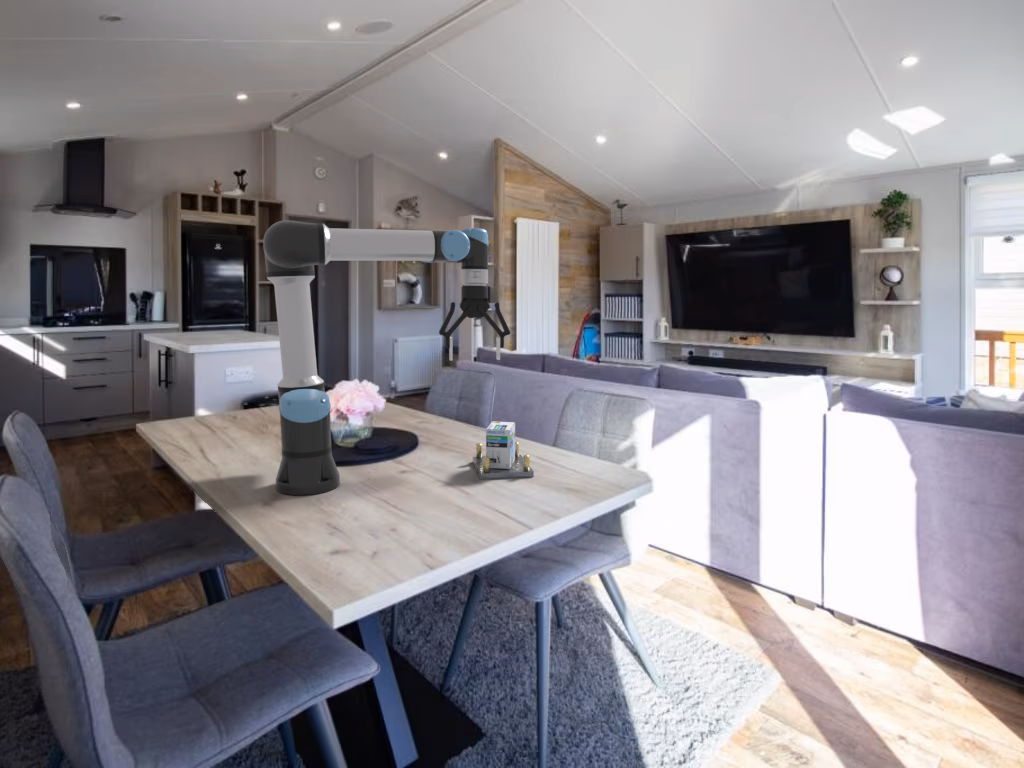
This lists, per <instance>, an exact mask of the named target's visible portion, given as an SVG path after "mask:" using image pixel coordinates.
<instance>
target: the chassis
mask: <svg viewBox="0 0 1024 768" xmlns="http://www.w3.org/2000/svg"><path fill="white" fill-rule="evenodd" d="M519 445H520V443H519V441H515V460H514V462H513V464H512V466H511V468H510V469H499V468H490V457H486V455H483V443H482V442H477V443H476V445H475V447H476V448H475V450H476V453H475V454H476V455H475V456H472V464H473V466H474V468H475V471H476V472H477V474H478V476H479V479H480V480H494V479H495V480H497V479H516V478H517V479H518V478H534V470H533V468H532V466H531V465H530V458H531V457H530V454H523V456H522V455H521V454H519V452H520V451H519V450H520V448H519V447H520V446H519Z"/></svg>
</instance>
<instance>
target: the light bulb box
mask: <svg viewBox="0 0 1024 768" xmlns="http://www.w3.org/2000/svg"><path fill="white" fill-rule="evenodd" d="M485 436H486V437H485V456H486V457H490V468H499V469H510V468H511V466H512V464H513V462H514V460H515V442H516V422H515V421H495V420H494V421H491V422H490V424H489V425H488V426H487V427H486V429H485Z"/></svg>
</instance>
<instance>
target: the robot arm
mask: <svg viewBox="0 0 1024 768" xmlns="http://www.w3.org/2000/svg"><path fill="white" fill-rule="evenodd" d="M262 245H263V253H264V259H265V271H266V279H267V280H269V282H271V283H272V285H273V286H274V298H275V309H276V318H277V327H278V328H277V329H278V337H279V338H278V339H279V349H280V360H281V371H282V378H281V379H280V381H279V382H278V383H277V393H278V410H279V420H280V439H281V441H280V442H281V460H280V464H279V468H278V470H277V471H278V472H277V474H276V477H275V490H276V491H277V492H278V493H281V494H284V495H292V496H293V495H294V496H305V495H306V496H308V495H317V494H321V493H326V492H329V491H331V490H334V489H336V488H338V487H339V486H340V484H341V481H340V480H341V479H340V477H341V476H340V472H339V470H338V467H337V464H336V462H335V460H334V457H333V453H332V436H331V435H332V433H331V429H332V428H331V408H332V407H331V405H332V404H331V402H330V396H329V395H328V394H327V393H326V391H325V380H324V379H323V378H321V377H320V376H319V375H318V368H317V367H318V366H317V357H316V356H317V355H316V345H315V343H316V342H315V333H314V320H313V310H312V300H311V287H310V284H311V282H312V281H313V280H314V279H315V277H316V276H315V266H321V265H323V266H325V265H327V264H328V263H329V262H330V261H333V262H334V261H335V262H336V261H345V262H346V261H348V262H349V261H354V262H355V261H359V262H360V261H363V262H365V261H366V262H367V261H371V262H373V261H374V262H375V261H379V262H381V261H382V262H383V261H387V262H389V261H390V262H391V261H393V262H395V261H396V262H403V261H405V262H408V261H409V262H410V261H411V262H412V261H413V262H418V261H419V262H420V261H421V262H423V263H430V264H434V263H436V264H437V263H439V264H450V263H451V264H453V263H455V264H460V265H461V267H460V268H461V272H460V273H461V275H460V276H461V279H460V281H461V284H462V286H461V288H460V290H461V297H460V298H461V299H460V302H459V303H458V302H455V301H451V302H450V304H449V310H448V312H447V314H446V316H445V318H444V321H443V322H442V325H441V326H440V328H439V330H438V334H439V335H440V336H443V337H444V338H445V341H444V344H445V346H444V347H445V349H448V351H449V353H448V354H449V361H452V362H453V361H454V359H453V358H454V357H453V356H454V353H453V352H454V351H453V345H454V344H453V339H454V338H453V337H452V335H453V333H454V332H455V331H456V329H458V327H459V326H460V325H461V324H462V322H464V320H466V318H468V319H474V318H476V319H482V318H483V319H485V320H486V322H487V323H488V324H489V325H490V327H492V329H493V330H494V331H495V332H496V333H497V335H498V336H496V338H495V339H496V341H495V342H496V344H495V346H496V347H495V348H496V349H495V352H496V353H495V356H496V357H495V359H496V360H497V361H501V349H504V347H505V337H506V336H509V335H510V334H511V330H510V328H509V327H508V324H507V323H506V322H507V321H506V320H505V318H504V316H503V313H502V312H501V309H500V303H499V302H497V301H496V302H491V303H490V302H489V287H488V286H487V284H489V246H490V245H489V235H488V231H487V230H486V229H484V228H479V227H478V228H475V227H473V228H472V227H470V228H469V227H467V228H463V229H461V230H459V229H458V230H457V229H449V230H424V229H423V230H422V229H419V230H416V229H413V230H412V229H375V228H374V229H373V228H371V229H370V228H339V227H338V228H333V227H331V228H330V227H328V226H327V225H326V224H325V223H313V222H305V221H297V220H290V219H286V220H280V221H279V220H278V221H277V222H275V223H273V224H272V225H270V227H268V228H267V230H266V231H265V233H264V235H263V241H262ZM459 308H460V310H461V311H462V313H461V314H460V315H459V317H458V318H457V319H456V320H455V321H454V322H453V324H452V325H451V326H450V327H449V328H448V325H449V324H450V321H451V320H452V318H453V316H454V314H455V311H457V310H458V309H459ZM490 308H491V310H493V311H494V313H495V315H496V317H497V320H498V321H499V323H500V325H501V327H502V329H503V331H502V329H500V327H499V326H498V325H497V324H496V322H494V320H493V319H492V318H491V316H490V315H489V314H488V313H487V311H489V309H490ZM447 328H448V330H447V331H446V329H447Z"/></svg>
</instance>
